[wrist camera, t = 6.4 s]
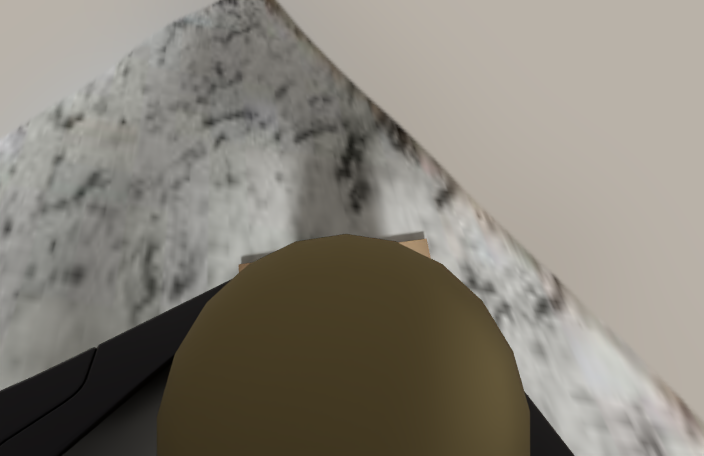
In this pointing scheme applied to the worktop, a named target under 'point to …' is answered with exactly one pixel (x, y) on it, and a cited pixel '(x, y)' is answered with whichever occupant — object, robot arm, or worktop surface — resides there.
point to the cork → (344, 361)
